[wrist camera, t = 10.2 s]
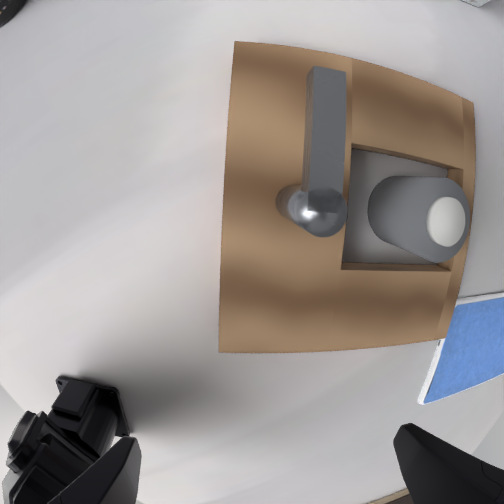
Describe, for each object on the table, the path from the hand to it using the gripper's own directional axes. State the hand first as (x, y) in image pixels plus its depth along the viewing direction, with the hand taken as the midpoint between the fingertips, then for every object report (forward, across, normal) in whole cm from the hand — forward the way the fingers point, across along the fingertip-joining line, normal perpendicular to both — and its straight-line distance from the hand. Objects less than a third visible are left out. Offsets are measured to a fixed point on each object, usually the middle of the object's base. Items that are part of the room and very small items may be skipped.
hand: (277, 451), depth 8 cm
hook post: (+11, -2, -9) cm, 15 cm away
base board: (+13, -8, -7) cm, 17 cm away
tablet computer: (+14, -28, +6) cm, 32 cm away
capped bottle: (+13, -10, -7) cm, 18 cm away
